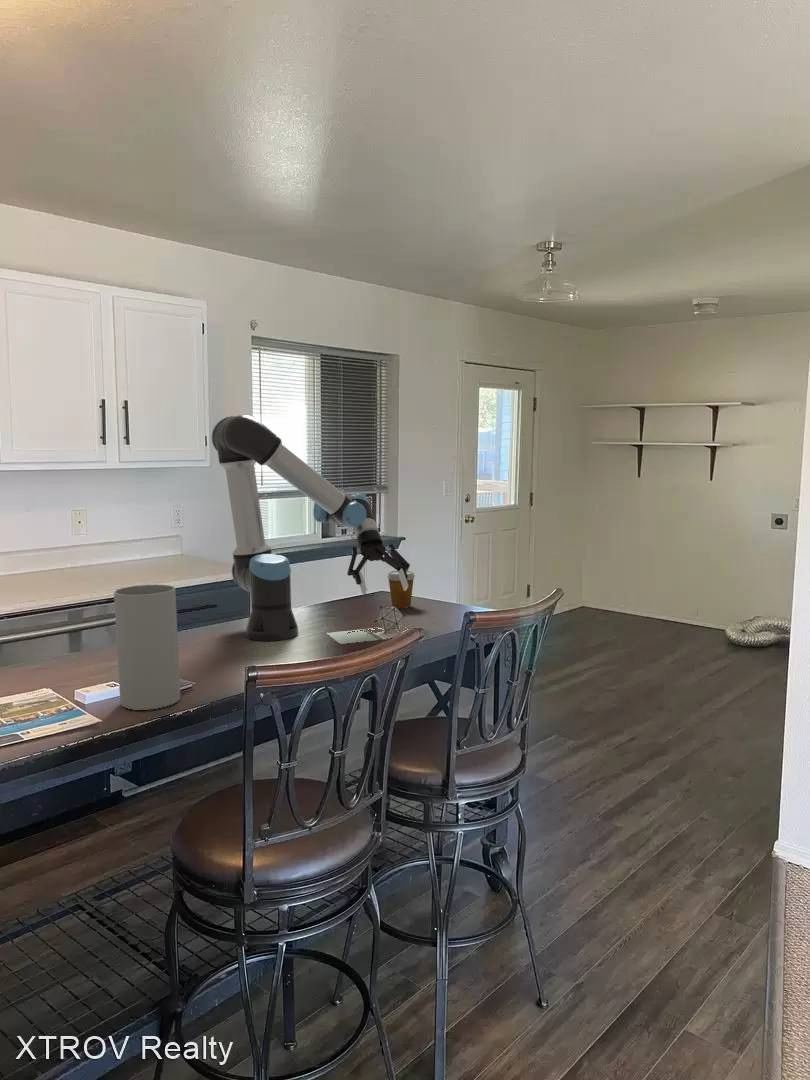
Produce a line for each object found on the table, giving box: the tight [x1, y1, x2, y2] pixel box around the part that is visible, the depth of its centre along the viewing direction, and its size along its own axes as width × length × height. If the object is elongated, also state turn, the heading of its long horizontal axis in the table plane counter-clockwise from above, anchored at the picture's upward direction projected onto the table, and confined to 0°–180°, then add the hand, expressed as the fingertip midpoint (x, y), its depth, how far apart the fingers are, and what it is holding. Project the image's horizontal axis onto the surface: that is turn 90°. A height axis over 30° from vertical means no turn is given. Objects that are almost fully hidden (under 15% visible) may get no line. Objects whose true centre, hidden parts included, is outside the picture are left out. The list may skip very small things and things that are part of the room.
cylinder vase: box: [113, 584, 181, 711], centre depth 169 cm, size 12×12×25 cm
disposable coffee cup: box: [386, 570, 416, 609], centre depth 269 cm, size 10×10×12 cm
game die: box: [373, 604, 407, 633], centre depth 232 cm, size 9×8×10 cm
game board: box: [325, 627, 408, 645], centre depth 230 cm, size 24×14×1 cm, turn 112°
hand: (385, 590), depth 239 cm, fingers open, 13 cm apart
